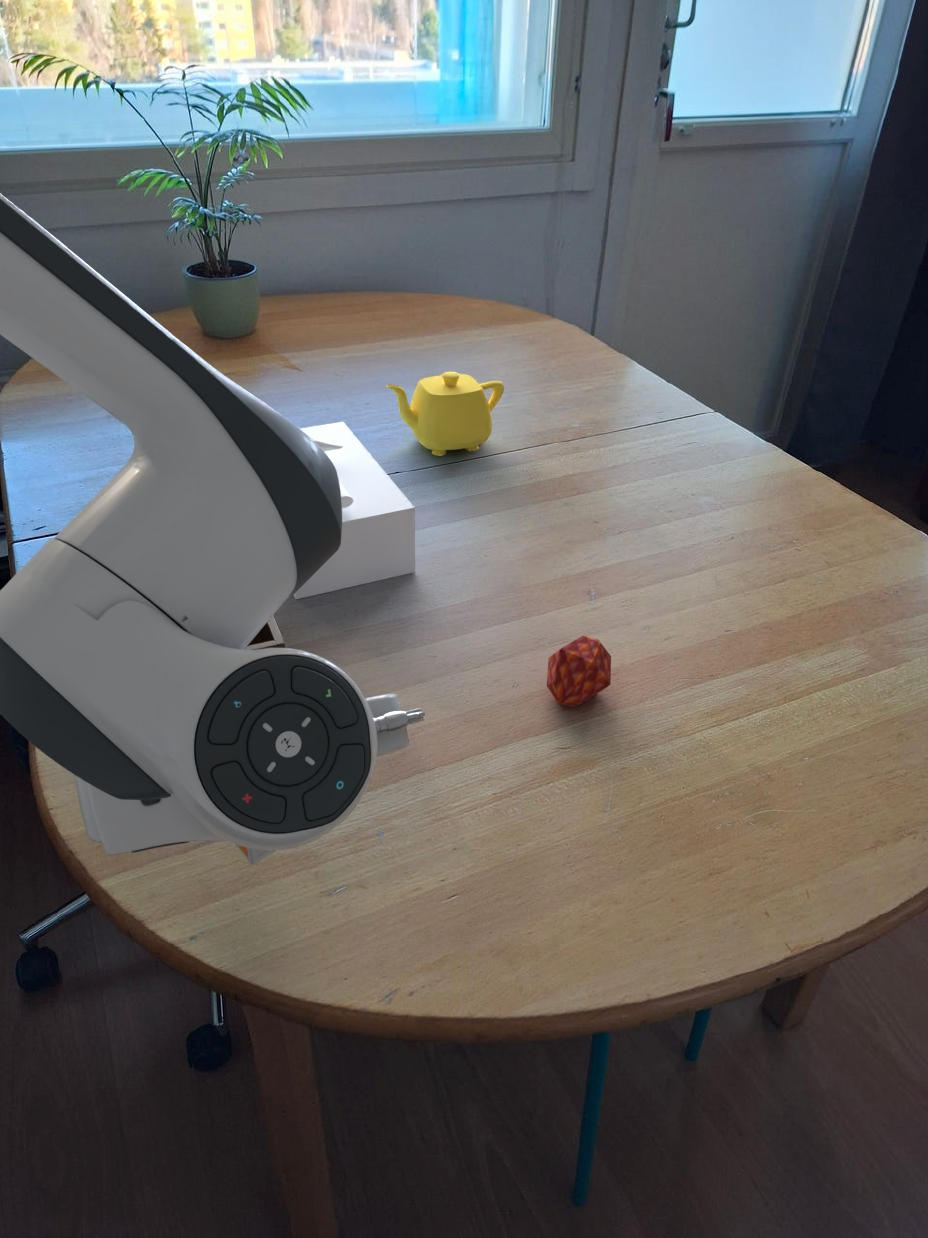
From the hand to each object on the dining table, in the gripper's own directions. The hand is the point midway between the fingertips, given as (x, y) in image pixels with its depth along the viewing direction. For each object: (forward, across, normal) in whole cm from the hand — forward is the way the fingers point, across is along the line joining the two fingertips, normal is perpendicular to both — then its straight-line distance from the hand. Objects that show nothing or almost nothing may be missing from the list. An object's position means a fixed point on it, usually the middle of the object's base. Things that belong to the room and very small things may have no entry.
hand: (242, 762), depth 61 cm
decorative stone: (+15, -33, +2) cm, 36 cm away
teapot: (+55, -42, -39) cm, 80 cm away
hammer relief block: (+42, -18, -25) cm, 52 cm away
